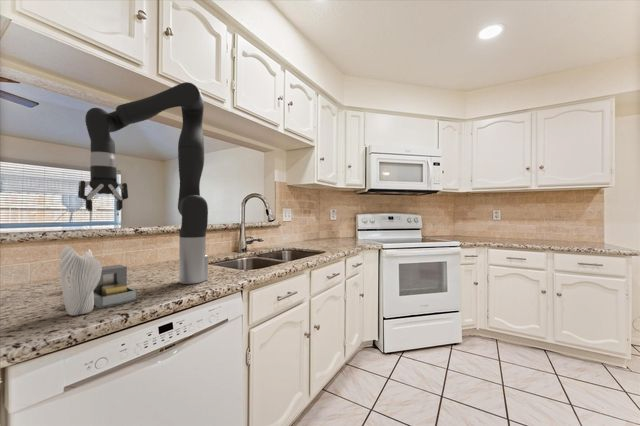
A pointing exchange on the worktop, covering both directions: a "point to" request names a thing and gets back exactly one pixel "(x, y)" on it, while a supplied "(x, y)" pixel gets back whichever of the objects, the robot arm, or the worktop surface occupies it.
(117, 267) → the grey tray with arch
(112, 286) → the yellow block
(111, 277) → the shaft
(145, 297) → the worktop surface
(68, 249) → the shell sculpture
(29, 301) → the worktop surface
